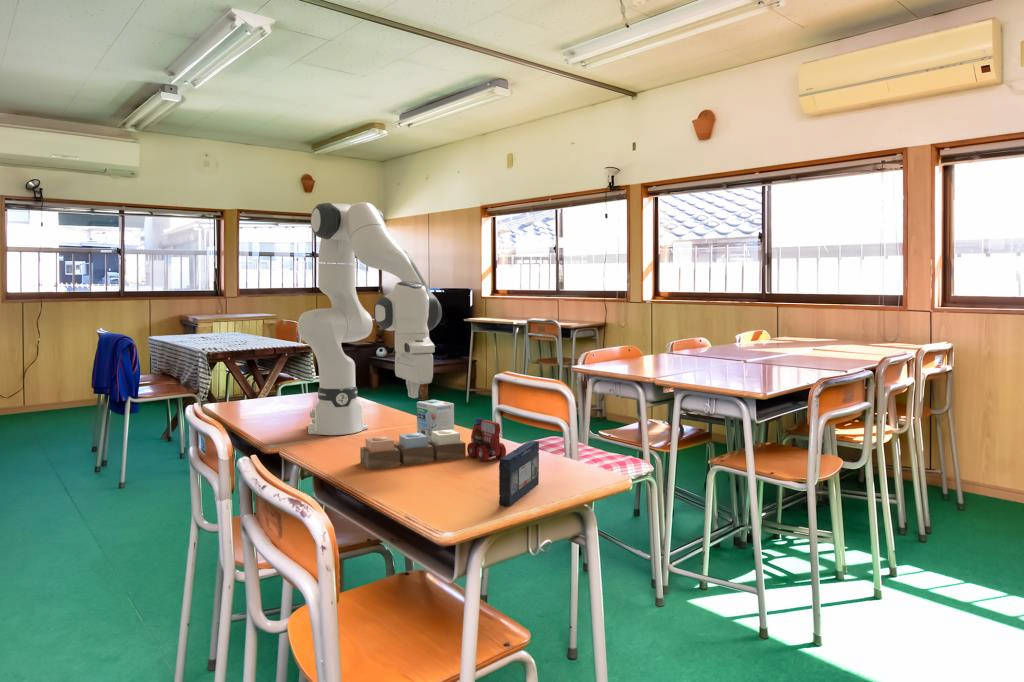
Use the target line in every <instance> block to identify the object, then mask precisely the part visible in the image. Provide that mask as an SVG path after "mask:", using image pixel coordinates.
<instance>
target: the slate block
mask: <svg viewBox="0 0 1024 682" xmlns="http://www.w3.org/2000/svg"><path fill="white" fill-rule="evenodd" d="M398 440H399V442H398V443H399V445H400V446H402V447H403V448H405V449H410V448H419V447H428V440H429V439H428V437H427V436H426V435H424V434H422V433H417V432H413V433H412V432H411V433H404V434H399V438H398Z"/></svg>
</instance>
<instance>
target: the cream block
mask: <svg viewBox="0 0 1024 682" xmlns="http://www.w3.org/2000/svg"><path fill="white" fill-rule="evenodd" d="M460 440H461V433H460V432H458V431H456V430H455V429H454V430H452V429H451V430H441V431H432V442H434V443H436V444H437V445H446V444H454V443H460Z"/></svg>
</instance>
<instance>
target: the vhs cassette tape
mask: <svg viewBox="0 0 1024 682" xmlns="http://www.w3.org/2000/svg"><path fill="white" fill-rule="evenodd" d="M498 462H499V464H498V474H499V476H498V480H499V481H498V483H499V484H498V493H499V494H498V495H499V497H498V500H499V501H498V505H499V506H500V507H507V508H510V507H511V506H513V505H514V504H516V503H517V502H518V501H520V500H521V499H522V498H523V497H525V496H526V495H527V494H528V493H530V492H531V491H532V490H533V489H535V488H536V487H537V486H538V485H539V483H540V480H539V478H540V477H539V475H540V472H539V468H540V466H539V465H540V441H539V440H537V441H536V440H528V441H527V442H525V443H523V444H522V445H520V446H518V447H517V448H516V449H513V450H511V451H510V452H509V453H506V455H505V456H504V457H503V458H501V459H499V460H498ZM535 486H536V487H535ZM530 490H531V491H530ZM515 502H516V503H515Z"/></svg>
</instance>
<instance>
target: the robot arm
mask: <svg viewBox="0 0 1024 682" xmlns="http://www.w3.org/2000/svg"><path fill="white" fill-rule="evenodd" d="M310 226H311V231H312V232H313V233H314V235H315V236H316V237H318V238H320V242H319V247H318V248H319V249H318V263H317V264H318V265H317V267H318V269H317V271H318V274H317V275H318V276H317V277H318V278H317V279H318V280H317V282H318V283H317V285H318V289H319V290H320V291H321V292H322V293H323V294H324V295H326V296H327V297H328V298H329V300H330V303H331V307H329V308H315V309H312V310H311V309H310V310H308V311H304V312H303V313H302V314H301V315H300V317H299V318H298V321H297V326H296V327H297V332H298V335H299V337H300V339H301V340H302V341H303V342H304V343H305V344H307V345H308V346H309V347H310V349H311V350H312V352H313V354H314V355H315V358H316V362H317V366H318V379H319V382H318V383H319V387H318V389H317V399H318V401H317V402H316V405H315V406H314V409H311V410H309V418H310V419H311V422H308V429H307V434H308V435H322V436H342V435H343V436H344V435H351V434H355V433H356V434H357V433H359V432H361V431H363V430H367V429H369V425H368V424H365V423H364V414H363V404H362V402H360V401H359V399H357V398H358V387H357V386H356V363H355V360H353V358H351V357H350V356H348V355H347V354H346V353H345V352H344V350H343V347H342V343H354V342H357V341H361V340H364V339H366V338H368V337H369V336H370V334H371V333H372V331H373V326H374V325H373V319H374V323H376V325H377V326H378V328H380V329H381V330H383V331H389V332H390V331H391V332H392V331H393V332H394V352H395V354H394V356H395V357H394V373H395V376H396V377H397V378H401V379H402V380H405V385H406V389H407V395H408V397H409V398H412V399H418V398H419V391H420V390H419V389H420V387H421V384H422V385H423V384H426V385H427V384H430V383H432V382H433V378H434V355H433V353H435V348H436V347H435V344H434V342H433V341H432V340H431V338H430V331H432V330H434V328H436V327H437V326H438V324H439V323H440V322H441V319H442V317H443V309H442V304H441V303H440V301H439V300H438V298H437V296H435V294H433V292H432V291H431V289H430V288H429V286H428V285H427V283H426V282H425V280H424V278H423V276H422V275H421V272H420V271H419V269H418V267H417V266H416V264H415V262H414V260H413V258H412V257H411V255H410V254H409V253H408V252H407V251H406V250H404V249H403V248H402V247H401V246H400V245H398V243H397V242H396V241H395V240H394V239H393V237H392V235H390V233H389V232H390V231H389V230H388V228H387V225H386V221H385V216H384V214H383V212H382V210H381V209H379V208H377V207H376V206H375V205H373V204H372V203H370V202H367V201H360V202H356V203H330V202H325V203H324V202H322V203H319V204H317V205H315V206H314V208H313V210H312V212H311V216H310ZM355 257H356V258H357V259H358V261H359V262H360V263H362V264H363V265H365V266H367V267H369V268H372V269H376V270H380V271H382V272H383V271H384V272H387V273H389V274H392V275H393V276H395V277H397V278H398V279H399V280H400V281H399V282H397V283H396V284H395V285H394V288H393V290H392V291H390V292H389V293H388V294H385V295H382V296H381V297H380V298H378V300H377V301H376V302H375V303H374V305H373V306H374V307H373V317H374V318H373V319H372V316H371V315H370V314H371V313H369V312H368V311H367V310H366V309H365V308H364V306H363V305H362V303H361V302H360V300H359V296H358V293H357V289H356V265H355V264H356V258H355Z"/></svg>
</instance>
